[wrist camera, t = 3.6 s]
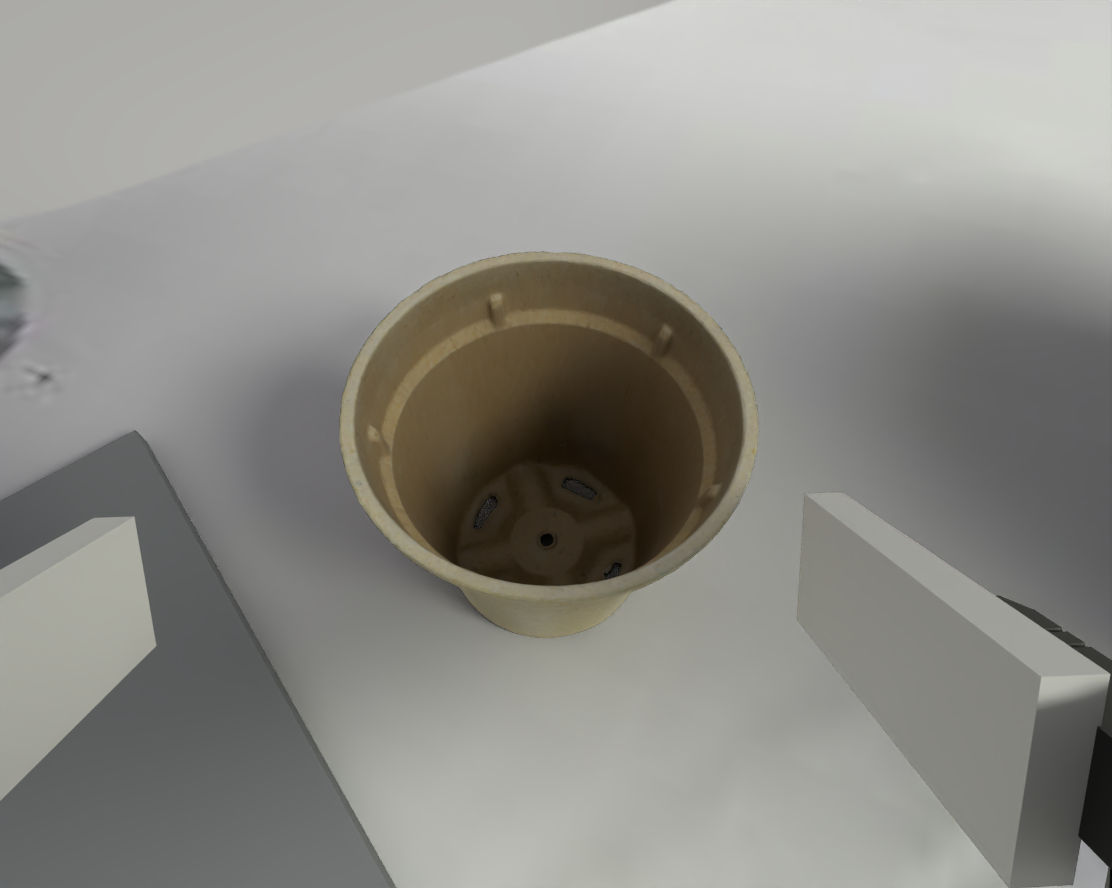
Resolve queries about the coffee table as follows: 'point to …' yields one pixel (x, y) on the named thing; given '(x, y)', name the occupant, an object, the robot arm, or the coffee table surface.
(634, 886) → the coffee table surface
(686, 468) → the flower pot
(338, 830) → the charcoal mat
